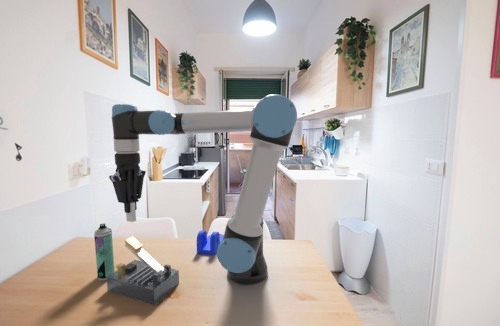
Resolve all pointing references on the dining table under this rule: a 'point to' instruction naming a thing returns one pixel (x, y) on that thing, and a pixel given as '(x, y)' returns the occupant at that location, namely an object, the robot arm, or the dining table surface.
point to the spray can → (104, 252)
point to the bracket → (208, 242)
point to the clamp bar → (144, 256)
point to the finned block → (142, 282)
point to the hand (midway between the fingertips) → (131, 220)
